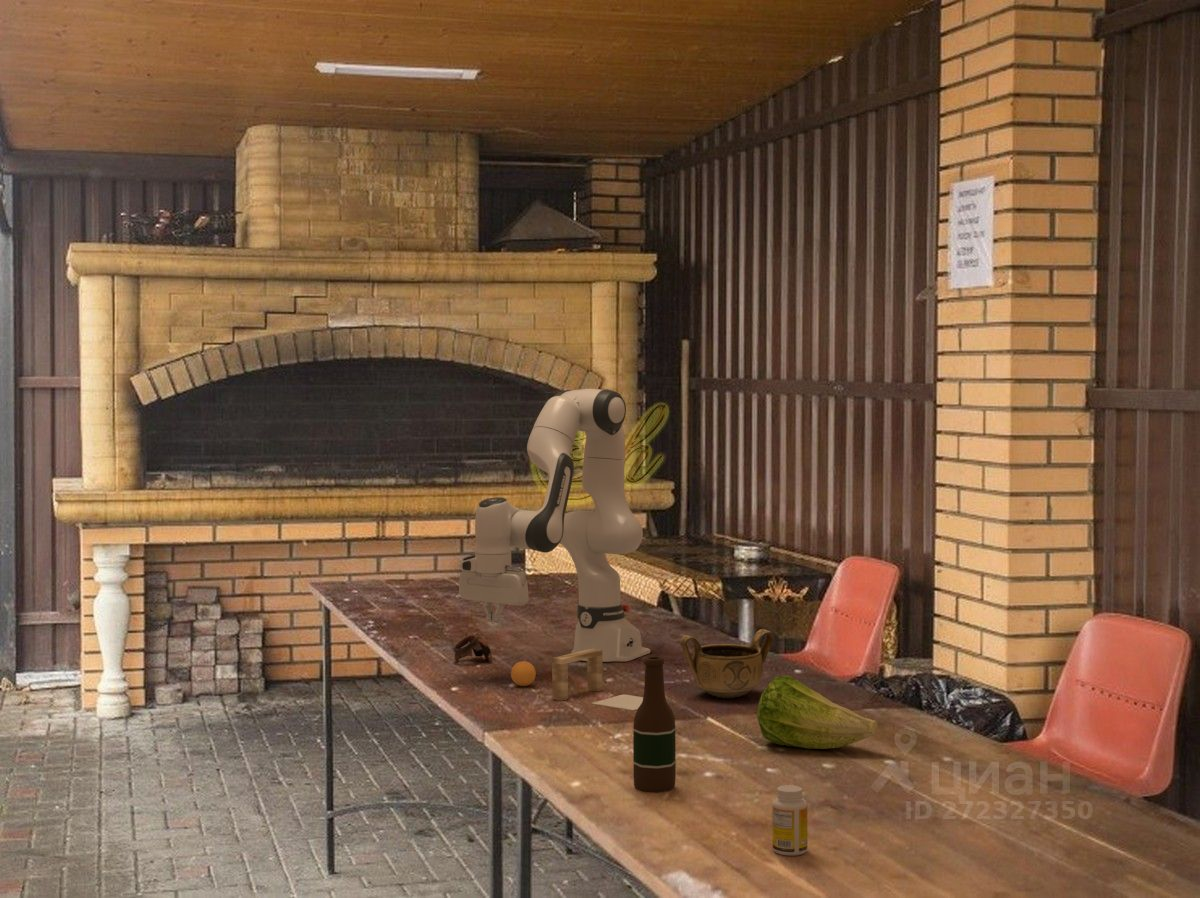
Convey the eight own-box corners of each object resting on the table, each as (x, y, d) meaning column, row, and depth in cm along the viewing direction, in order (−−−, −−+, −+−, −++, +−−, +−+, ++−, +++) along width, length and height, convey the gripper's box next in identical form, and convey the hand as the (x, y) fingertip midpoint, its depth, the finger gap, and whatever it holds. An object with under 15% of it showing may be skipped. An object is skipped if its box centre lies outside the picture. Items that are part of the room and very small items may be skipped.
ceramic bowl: (757, 686, 382) (757, 624, 381) (786, 700, 365) (786, 635, 365) (670, 692, 375) (670, 629, 375) (695, 706, 359) (695, 641, 358)
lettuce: (889, 752, 320) (860, 775, 308) (780, 729, 333) (747, 750, 320) (892, 683, 318) (863, 704, 305) (782, 663, 330) (749, 681, 318)
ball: (522, 682, 387) (522, 658, 387) (540, 685, 384) (540, 660, 383) (506, 686, 383) (505, 661, 382) (524, 689, 379) (524, 664, 379)
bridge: (552, 699, 368) (552, 657, 367) (592, 688, 380) (592, 648, 379) (562, 700, 366) (562, 659, 365) (602, 690, 378) (602, 649, 377)
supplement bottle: (801, 845, 255) (801, 782, 254) (812, 855, 249) (812, 791, 249) (767, 847, 254) (768, 784, 253) (777, 858, 248) (778, 793, 248)
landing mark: (623, 695, 372) (623, 694, 372) (664, 701, 364) (664, 700, 364) (591, 703, 362) (591, 703, 362) (633, 710, 355) (633, 709, 355)
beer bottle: (631, 782, 294) (630, 654, 293) (672, 781, 295) (672, 653, 294) (635, 793, 286) (635, 662, 285) (678, 792, 287) (678, 661, 286)
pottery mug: (493, 667, 410) (478, 641, 408) (462, 682, 412) (446, 656, 410) (499, 648, 421) (484, 622, 419) (468, 662, 423) (453, 637, 421)
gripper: (533, 566, 384) (534, 622, 384) (472, 560, 396) (472, 614, 397) (516, 568, 379) (517, 626, 379) (454, 562, 391) (455, 618, 392)
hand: (493, 620), depth 388 cm, fingers closed
